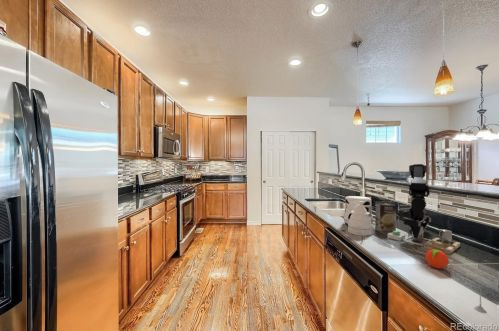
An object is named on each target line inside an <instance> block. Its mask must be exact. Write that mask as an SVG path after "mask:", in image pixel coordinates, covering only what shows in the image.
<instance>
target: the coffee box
mask: <svg viewBox="0 0 499 331" xmlns="http://www.w3.org/2000/svg"><path fill="white" fill-rule="evenodd" d="M374 221H375V223H374V224H375V225H374V229H375V230H376V231H378V232H388V233H391V232H393V231H397V205H396V204H394V203H380V202H379V203H378V202H376V203H375V220H374Z"/></svg>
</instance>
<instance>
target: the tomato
mask: <svg viewBox="0 0 499 331" xmlns="http://www.w3.org/2000/svg"><path fill="white" fill-rule="evenodd" d="M425 260H426V263H427V264H428V265H429V266H431V267H432V268H435V269H444V268H446V267H448V264H449V257H448V256H447V253H443V252H442V251H440V250H437V249H432V250H431V249H428V250H427V252H426V253H425Z"/></svg>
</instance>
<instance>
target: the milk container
mask: <svg viewBox="0 0 499 331" xmlns="http://www.w3.org/2000/svg"><path fill="white" fill-rule="evenodd" d="M359 201H364V203H363V204H362V205H363V206H364V207H365V208H366V210H367V212H369V213H370V214H369V218H370V219H371V220H370V221H371V223H372V224H373V222H374V217H373V213H372V208H373V207H372V206H373V205H372V198H370V197H368V196H367V197H366V196H357V195H349V196H345V199H344V212H343V221H344V223H345V224H347V225H348V221H349V219H350V216H351V214H352V213H351V211H353V210H354V208H355V207H356V206H357V205H358V204H360V203H359Z"/></svg>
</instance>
